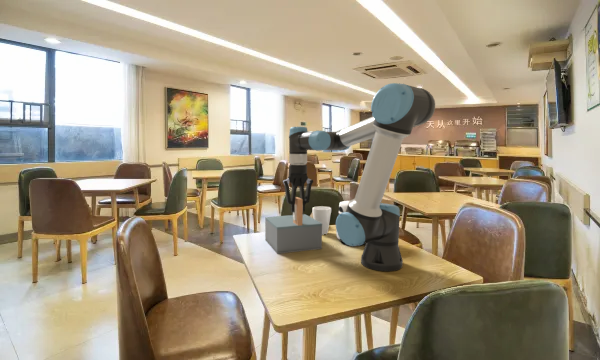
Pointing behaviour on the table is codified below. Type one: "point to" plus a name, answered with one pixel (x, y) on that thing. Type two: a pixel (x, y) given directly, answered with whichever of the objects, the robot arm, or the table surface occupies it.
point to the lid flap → (289, 222)
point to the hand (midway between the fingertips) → (297, 219)
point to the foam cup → (322, 217)
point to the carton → (293, 238)
